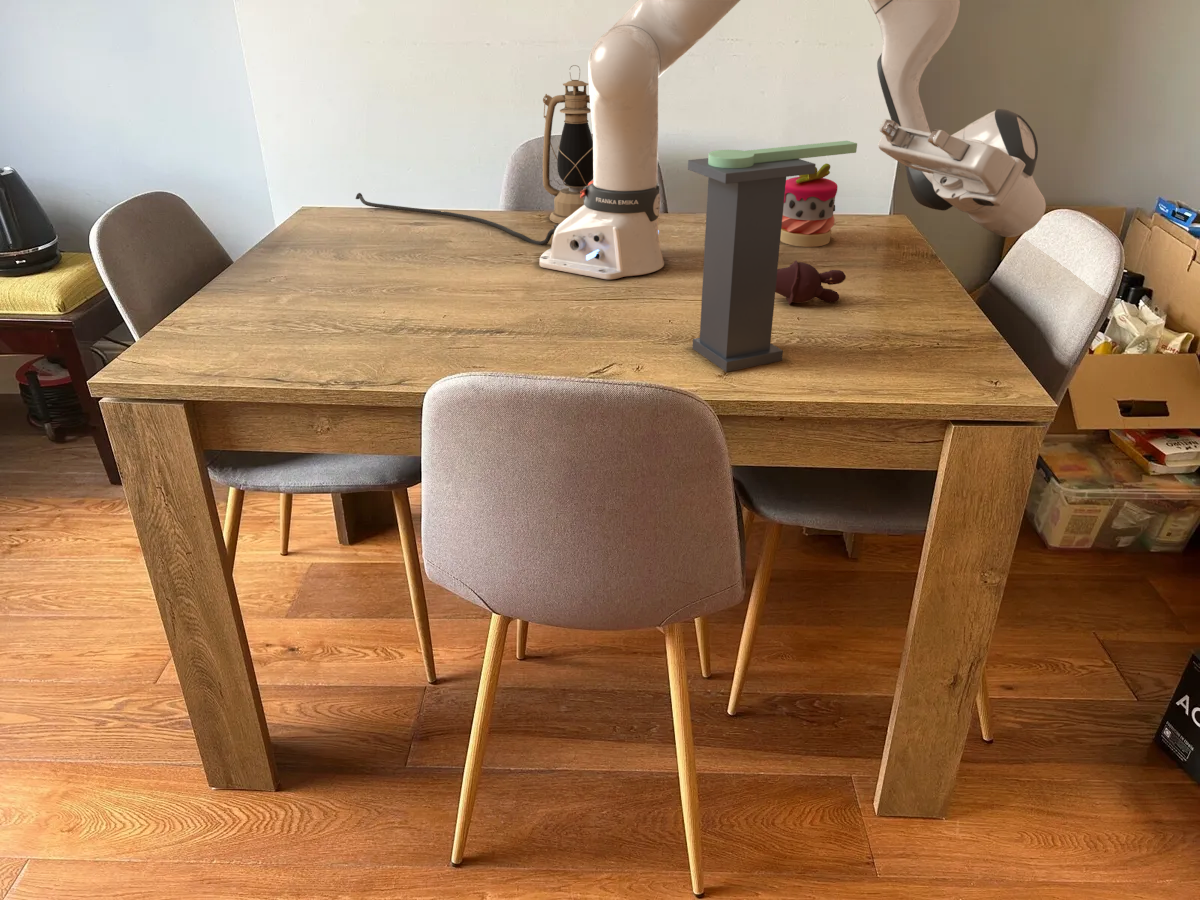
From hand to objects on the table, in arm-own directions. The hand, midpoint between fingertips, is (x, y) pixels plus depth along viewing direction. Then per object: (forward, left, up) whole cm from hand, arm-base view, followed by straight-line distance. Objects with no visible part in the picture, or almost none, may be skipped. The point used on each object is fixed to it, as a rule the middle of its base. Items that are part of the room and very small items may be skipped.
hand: (908, 129), depth 118 cm
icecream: (-14, +6, -28) cm, 32 cm away
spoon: (-14, -14, -2) cm, 19 cm away
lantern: (-66, +44, -28) cm, 84 cm away
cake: (-18, +43, -28) cm, 55 cm away
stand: (-18, -18, -28) cm, 37 cm away
